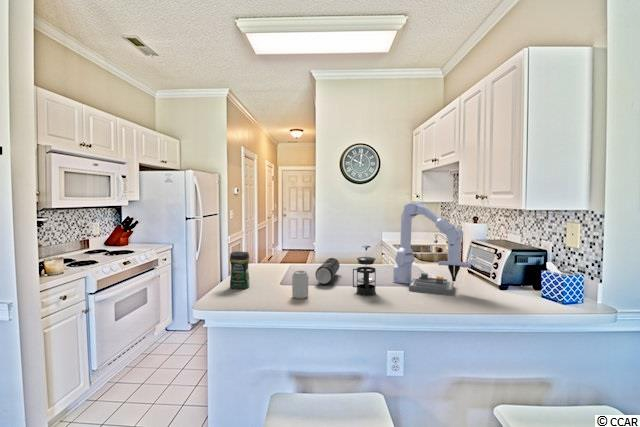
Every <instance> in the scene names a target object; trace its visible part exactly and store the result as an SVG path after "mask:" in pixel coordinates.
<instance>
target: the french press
mask: <svg viewBox="0 0 640 427" xmlns="http://www.w3.org/2000/svg"><path fill="white" fill-rule="evenodd" d="M361 247H362V248H365V249H364V250H365V256H360V257H356V260H357V264H360V265H365V266H359V267H357V268H353V269H352V288H356V292H355V293H356V294H357V295H359V296H363V295H365V296H364V297H370V296H375V295H376V293H377V292H376V285H375V284H372V283H376V280H377V279H376V268H375V267H372V266H370V265H373V264H374V263H375V261H376V260H377V258H376V257H371V256H368V252H367V251H368V248H371V246H370V245H362V246H361ZM367 265H368V266H367ZM354 271H356V285H354V284H355V278H354V277H355V276H354V275H355V272H354ZM358 273H360V274H363V277H360V278H358V275H359V274H358ZM370 274H374V278H372V277H371V278H370ZM358 283H360V284H358Z"/></svg>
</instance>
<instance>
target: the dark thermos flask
mask: <svg viewBox="0 0 640 427" xmlns="http://www.w3.org/2000/svg"><path fill="white" fill-rule="evenodd" d="M340 266H341V265H340V262H339V260H338V259H336V258H334V257H329V258H327V259H326V260H325V261H324V262H323V263H322V264H321V265H320V266H319V267H318V268H317V269H316V271H315V279H316V280H317V282H318V283H320V284H323V285H328V284H329V283H331V282H332V281H333V280H334V278H335V276H336V274H337V272H338V271H339V269H340Z"/></svg>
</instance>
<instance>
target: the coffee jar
mask: <svg viewBox="0 0 640 427" xmlns="http://www.w3.org/2000/svg"><path fill="white" fill-rule="evenodd" d="M229 262H230V278H229V280H230V281H229V287H230V288H231V289H233V288H236V289H237V290H245V289H248V288H249V287H250V282H251V281H250V275H249V262H250V254H249V252H248V251H232V252H231V253H230V254H229ZM244 288H245V289H244Z"/></svg>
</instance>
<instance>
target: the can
mask: <svg viewBox="0 0 640 427" xmlns="http://www.w3.org/2000/svg"><path fill="white" fill-rule="evenodd" d="M291 276H292V277H291V279H292V280H291V282H292V285H291V289H292V290H291V291H292V293H291V295H292V297H293V298H294V299H297V300H303V299H307V297H308V296H309V274H308V272H307V271H306V270H295V271H293V274H292V275H291Z"/></svg>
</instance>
